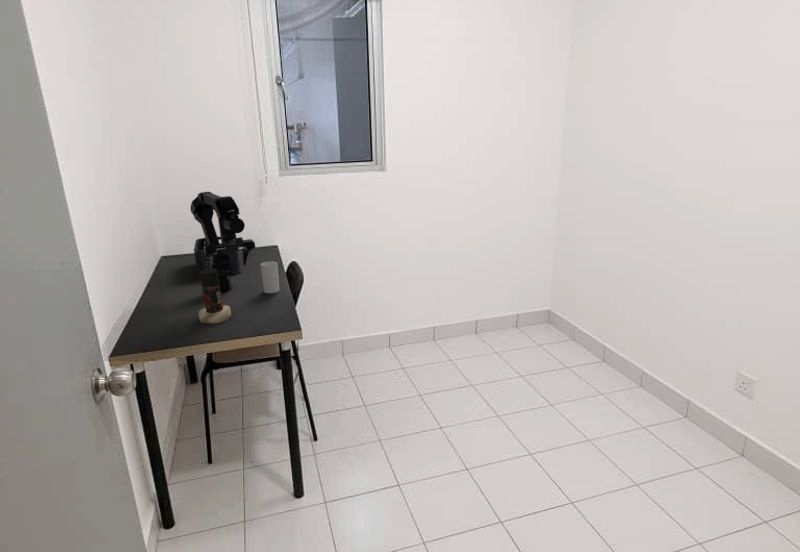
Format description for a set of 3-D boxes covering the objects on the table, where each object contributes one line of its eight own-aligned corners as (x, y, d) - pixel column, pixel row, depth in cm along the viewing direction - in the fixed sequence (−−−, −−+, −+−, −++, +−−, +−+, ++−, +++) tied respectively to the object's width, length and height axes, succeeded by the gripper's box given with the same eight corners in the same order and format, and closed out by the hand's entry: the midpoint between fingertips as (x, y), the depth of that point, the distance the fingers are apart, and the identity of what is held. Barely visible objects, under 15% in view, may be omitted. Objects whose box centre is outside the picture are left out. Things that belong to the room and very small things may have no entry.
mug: (279, 293, 205) (276, 265, 201) (262, 294, 204) (259, 266, 200) (281, 285, 214) (278, 258, 211) (265, 286, 213) (262, 259, 210)
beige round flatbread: (194, 323, 176) (193, 316, 175) (207, 312, 187) (206, 304, 186) (224, 323, 175) (223, 316, 174) (235, 312, 186) (234, 304, 185)
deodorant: (209, 307, 183) (203, 268, 178) (225, 306, 183) (219, 268, 178) (203, 313, 178) (196, 273, 173) (219, 312, 177) (213, 273, 173)
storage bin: (200, 263, 252) (195, 237, 247) (239, 259, 257) (236, 234, 253) (197, 279, 226) (193, 251, 222) (241, 274, 232) (237, 246, 228)
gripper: (204, 236, 181) (210, 276, 186) (255, 230, 189) (260, 269, 193) (201, 230, 190) (207, 269, 195) (250, 225, 198) (255, 262, 203)
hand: (232, 267), depth 196 cm, fingers open, 9 cm apart
